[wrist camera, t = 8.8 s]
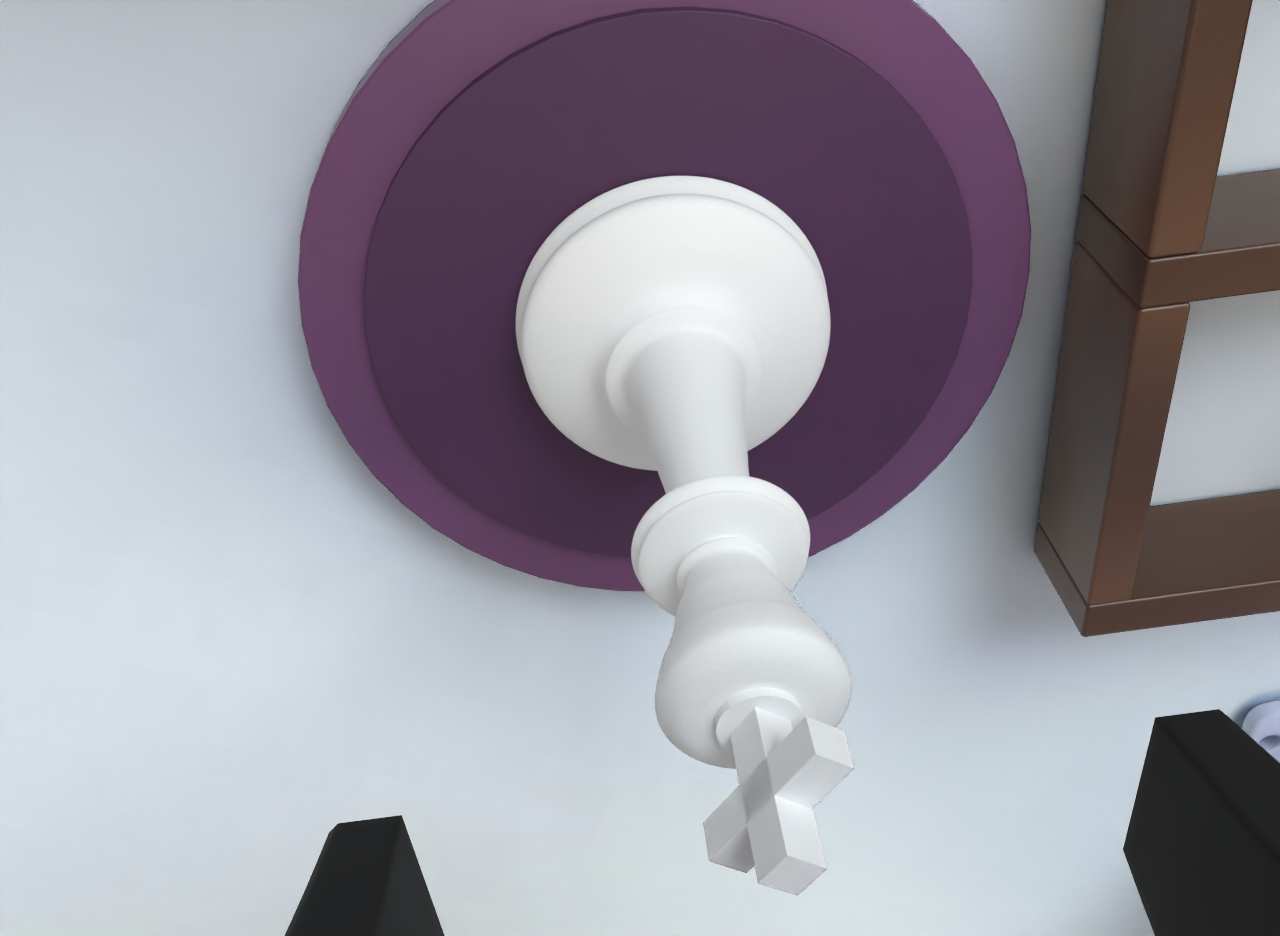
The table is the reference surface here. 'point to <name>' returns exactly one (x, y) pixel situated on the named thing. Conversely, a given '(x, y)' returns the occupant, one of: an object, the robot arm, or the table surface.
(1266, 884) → the robot arm
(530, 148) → the lid
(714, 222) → the chess piece
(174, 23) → the table surface
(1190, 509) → the rack
